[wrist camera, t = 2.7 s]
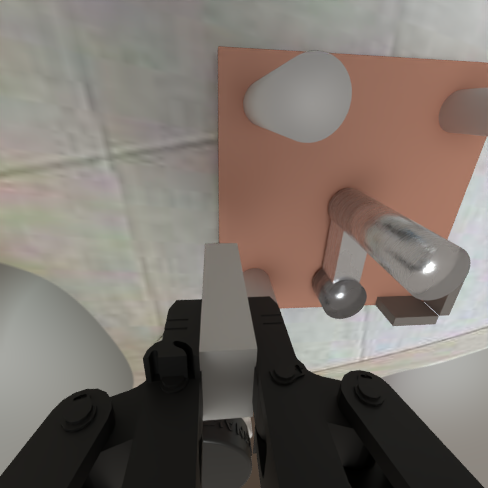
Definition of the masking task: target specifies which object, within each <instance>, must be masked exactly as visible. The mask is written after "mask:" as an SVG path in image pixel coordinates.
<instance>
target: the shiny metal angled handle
mask: <svg viewBox="0 0 488 488" xmlns="http://www.w3.org/2000/svg"><path fill="white" fill-rule="evenodd" d="M328 213H329V216H330V218H331V223H330V229H329V234H328V240H327V245H326V251H325V257H324V262H323V268H322V269H321V270H319V271H318V272H317V273H316V275H315V276H314V278H313V281H312V288H313V291H314V293H315V294H316V296H317V298H318V300H319V302H320V303H321V305H322V307H323V309H324V311H325V312H326V314H327V315H329V316H330V317H333V318H337V319H343V318H348V317H351V316H353V315H355V314H356V313H358V312H359V311H360V310H361V309H362V308H363V306H364V305H365V302H366V299H367V293H366V291H365V289H364V288H363V286H362V285H361V284H360V279H361V275H362V271H363V267H364V263H365V259H366V255H367V253H368V254H369V255H370V256H371V257H372V258H373V259H374V260H375V261H376V262H377V263H378V264H379V265H380V266H382V267H383V268H384V269H385V270H386V271H387V272H388V273H389V274H390V275H391V276H392V277H393V278H394V279H395V280H396V281H398V282H399V283H400V284H401V285H402V286H403V287H404V288H405V289H406V290H407V291H408V292H409V293H410V294H411V295H412V296H414V297H415V298H417V299H420V300H435V299H439V298H442V297H444V296H446V295H448V294H450V293H451V292H453V291H454V290H455V289H456V288H458V287H459V286H460V285H461V283H462V282H463V281H464V280H465V278H466V276H467V274H468V272H469V269H470V257H469V255H468V253H467V252H466V251H465V250H464V249H462V248H461V247H459V246H457V245H455V244H454V243H452V242H450V241H448V240H446V239H445V238H443V237H441V236H439V235H438V234H436V233H434V232H432V231H430V230H429V229H427V228H425V227H423V226H422V225H420V224H418V223H416V222H414V221H413V220H411V219H409V218H407V217H406V216H404V215H402V214H400V213H398V212H397V211H395V210H393V209H391V208H390V207H388V206H386V205H384V204H382V203H381V202H379V201H377V200H375V199H374V198H372V197H370V196H368V195H366V194H365V193H363V192H361V191H359V190H358V189H355V188H346V189H343V190H341V191H339V192H338V193H336V194H335V195H334V196H333V198H332V199H331V201H330V203H329V207H328Z"/></svg>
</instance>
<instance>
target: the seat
mask: <svg viewBox="0 0 488 488" xmlns="http://www.w3.org/2000/svg"><path fill="white" fill-rule="evenodd" d="M487 136H488V63H484V62H467V61H451V60H434V59H418V58H401V57H385V56H369V55H352V54H336V53H327V52H324V51H308V52H303V51H286V50H270V49H253V48H237V47H221V46H218V167H219V243H237V245H238V250H239V255H240V260H241V266H242V271H243V276H244V281H245V287H246V292H247V297H263V296H270V297H271V298H272V299H273V300H274V301H275V302H276V303H277V304H278V306H279V308H303V307H322V305H321V303H320V302H319V300H318V298H317V296H316V294H315V293H314V291H313V288H312V281H313V278H314V276H315V275H316V273H317V272H318V271H319V270H321V269H322V268H323V262H324V257H325V251H326V245H327V240H328V234H329V229H330V223H331V218H330V216H329V213H328V207H329V203H330V201H331V199H332V198H333V196H334V195H335V194H336V193H338V192H339V191H341V190H343V189H346V188H355V189H358V190H359V191H361V192H363V193H365V194H366V195H368V196H370V197H372V198H374V199H375V200H377V201H379V202H381V203H382V204H384V205H386V206H388V207H390V208H391V209H393V210H395V211H397V212H398V213H400V214H402V215H404V216H406V217H407V218H409V219H411V220H413V221H414V222H416V223H418V224H420V225H422V226H423V227H425V228H427V229H429V230H430V231H432V232H434V233H436V234H438V235H439V236H441V237H443V238H445V239H446V240H447V239H448V236H449V234H450V231H451V229H452V226H453V223H454V221H455V218H456V216H457V213H458V210H459V208H460V205H461V202H462V200H463V197H464V195H465V192H466V189H467V187H468V184H469V182H470V179H471V176H472V174H473V171H474V169H475V166H476V163H477V161H478V158H479V156H480V153H481V150H482V148H483V145H484V142H485V140H486V137H487ZM463 282H464V281H463ZM463 282H462V283H461V285H460V286H459V287H458V288H456V289H455V290H454V291H453V292H451V293H450V294H448V295H446V296H444V297H442V298H439V299H435V300H420V299H417V298H415V297H414V296H412V295H411V294H410V293H409V292H408V291H407V290H406V289H405V288H404V287H403V286H402V285H401V284H400V283H399V282H398V281H396V280H395V279H394V278H393V277H392V276H391V275H390V274H389V273H388V272H387V271H386V270H385V269H384V268H383V267H382V266H380V265H379V264H378V263H377V262H376V261H375V260H374V259H373V258H372V257H371V256H370V255H369V254H368V253H367V255H366V259H365V263H364V267H363V271H362V275H361V279H360V284H361V285H362V286H363V288H364V289H365V291H366V293H367V299H366V302H365V305H376V306H377V307H378V309H379V310H380V311H381V312H382V313H383V315H384V316H385V317H386V318H387V319H388V321H389V322H390V323H391V324H392V325H393V326H404V325H426V324H436V321H437V319H438V317H439V316H442V315H449V314H450V312H451V309H452V307H453V305H454V303H455V300H456V298H457V296H458V294H459V291H460V289H461V287H462V285H463ZM424 302H425V303H426V304H427V305H428V306H430V307H431V308H432V309H433V310H434V311H435V312H436V313H437V314H438V315H439V316H438V315H437V314H436V313H435V312H434V311H433V310H432V309H430V308H429V307H428V306H427V305H426V304H425V303H424ZM281 316H282V315H281Z"/></svg>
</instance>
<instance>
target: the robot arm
mask: <svg viewBox="0 0 488 488" xmlns="http://www.w3.org/2000/svg"><path fill="white" fill-rule="evenodd" d="M143 362H144V368H145V375H146V381H145V382H144V383H142V384H141V385H139V386H138V387H136V388H134V389H131V390H129V391H127V392H123V393H120V394H118V395H115V396H112V397H109V396H108V394H107V393H106V392H104V391H102V390H99V389H85V390H82V391H79V392H76V393H74V394H72V395H71V396H69V397H67V398H66V399H64V400H62V402H60V403H59V405H58V406H56V407H55V408H54V409H53V410H52V412H51V413H50V414H49V415H48V417H47V418H46V419H45V420H44V422H43V423H42V424H41V426H40V427H39V428H38V429H37V431H36V432H35V433H34V434H33V436H32V437H31V438H30V439H29V441H28V442H27V443H26V444H25V446H24V447H23V448H22V449H21V451H20V452H19V453H18V455H17V456H16V457H15V458H14V460H13V461H12V462H11V463H10V465H9V466H8V467H7V468H6V470H5V471H4V472H3V474H2V475H1V476H0V488H202V460H203V432H202V429H203V421H205V420H218V419H231V418H243V417H252V416H253V412H254V418H255V436H254V448H253V453H257V461H258V469H259V477H260V484H261V488H484V487H483V486H482V485H481V484H480V483H479V482H478V480H476V478H475V477H474V476H473V475H472V474H471V473H470V472H469V471H468V470H467V469H466V467H465V466H464V465H463V464H462V463H461V462H460V461H459V460H458V459H457V458H456V457H455V456H454V455H453V453H452V452H451V451H450V450H449V449H448V448H447V447H446V446H445V445H444V444H443V443H442V442H441V441H440V440H439V438H437V436H436V435H435V434H434V433H433V432H432V431H431V430H430V429H429V428H428V426H427V425H426V424H425V423H424V422H423V421H422V420H421V419H420V418H419V417H418V416H417V415H416V413H415V412H414V411H413V410H412V409H411V408H410V407H409V406H408V405H407V404H406V403H405V402H404V401H403V399H402V398H401V397H400V396H399V395H398V394H397V393H396V392H395V391H394V390H393V389H392V388H391V387H390V386H389V384H387V383H386V382H385V381H384V380H383V379H381V378H380V377H378V376H376V375H374V374H372V373H370V372H366V371H361V370H357V371H350V372H349V373H347V374H345V375H344V377H343V379H342V381H340V380H335V379H331V378H326V377H322V376H319V375H316V374H314V373H312V372H310V371H308V370H307V369H306V367H305V366H304V364H303V363H301V362H300V361H299V360H298V359H297V358H296V356H295V353H294V350H293V347H292V344H291V341H290V338H289V335H288V332H287V329H286V327H285V324H284V321H283V318H282V316H281V312H280V309H279V306H278V304H277V303H276V302H275V301H274V300H273V299H272V298H271V297H270V296H263V297H247V292H246V287H245V281H244V276H243V271H242V266H241V260H240V255H239V250H238V245H237V243H207V244H205V255H204V273H203V291H202V299H201V300H176V302H175V303H174V304H173V305H172V306H171V307H170V309H169V311H168V315H167V322H166V325H165V331H164V334H163V338H162V340H161V341H159V342H157V343H155V344H154V345H152V346H151V347H150V348H149V349H148V350H147V352H146V353H145V355H144V357H143Z"/></svg>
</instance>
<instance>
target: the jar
mask: <svg viewBox="0 0 488 488" xmlns="http://www.w3.org/2000/svg"><path fill="white" fill-rule="evenodd" d="M162 338H163V336H162V337H161V338H160V339H159V341H161V340H162ZM159 341H158V342H159ZM202 432H203V460H202V488H241V487H242V486H243V485H244V484H245V483H246V482H247V480H248V479H249V477H250V474H251V470H252V461H251V456H252V451H251V442H250V438H251V437H252V426H251V418H250V417H243V418H231V419H218V420H205V421H203V429H202Z"/></svg>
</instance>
